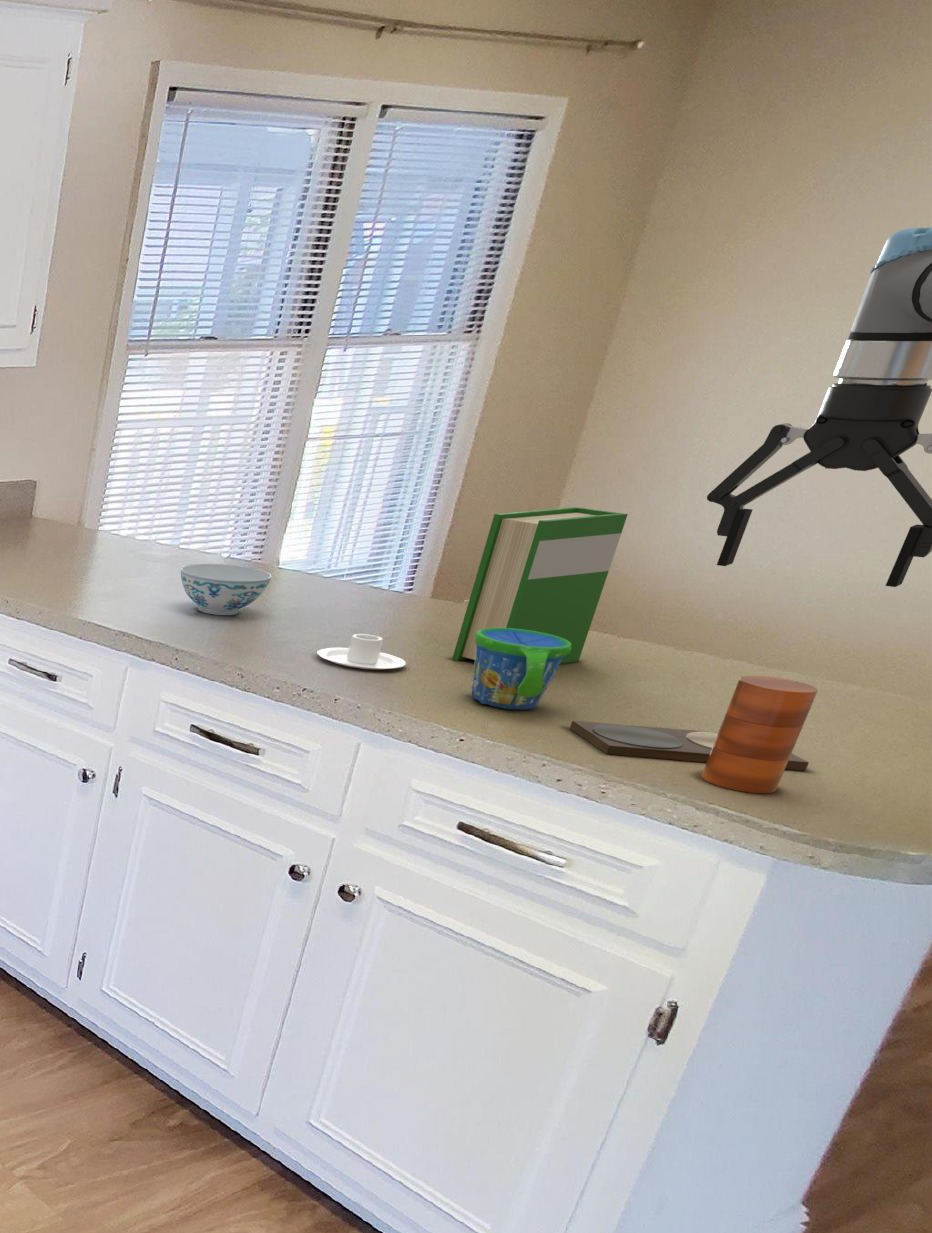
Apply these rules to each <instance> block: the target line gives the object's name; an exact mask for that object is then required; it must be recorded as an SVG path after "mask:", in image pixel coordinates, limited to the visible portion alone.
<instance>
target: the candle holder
mask: <svg viewBox="0 0 932 1233" xmlns="http://www.w3.org/2000/svg"><path fill="white" fill-rule="evenodd" d="M383 643H384V638H383V637H381V636H378V635H374V634H368V633H356V634H353V635H351V638H350V642H349V647H326V648H321V649H319V650H317V652H316V654H317V655H318V656H319V657H320V658H322V659H324V660H326V661H329V662H331V663H333V664H337V665H340V666H344V667H349V668H355V669H362V670H391V669H393V670H394V669H400V668H403V667H405V666H406V665H407V662H406V660H404V659H403V658H400V657H398V656H395V655H393V654H389V653H387V652H386V653H385V652H381V650H382V647H383Z"/></svg>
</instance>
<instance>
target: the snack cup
mask: <svg viewBox="0 0 932 1233" xmlns="http://www.w3.org/2000/svg"><path fill="white" fill-rule="evenodd" d="M475 642H476V645H477V647H476V655H475V660H474V664H473V672H472V677H473V678H472V683H471V697H472V698H473V699H474V700H477V701H478V702H479V703H480V704H482V705H489V706H491V707H494V708H497V709H503V710H517V711H519V710H520V711H523V710H530V709H535V708H536V707H537V706H538V704H539V703H540V701H541V699H542V697H543V695H544V694H545V691H546V690H547V688H548V686H549V684H550V683H551V682H552V680H553V678H554V676H555V674H556V672H557V671H558V668H559V666H560V664H561V663H560V662H561V661H562V659H563V658H564V657H565V656H566V655H568V654H569V653H570V652H571V643H570V642H569V641H568V640H566V639H564V638H561V637H558V636H555V635H551V634H547V633H542V632H537V631H531V630H523V629H514V628H486V629H481V630H479V631H478V632H476V634H475Z"/></svg>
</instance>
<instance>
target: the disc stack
mask: <svg viewBox="0 0 932 1233" xmlns="http://www.w3.org/2000/svg"><path fill="white" fill-rule="evenodd" d="M818 692H819V689H818V688H817V687H815V686H814V685H811V684H808V683H806V682H802V681H798V680H793V679H788V678H781V677H775V676H764V675H745V676H740V677H739V678H738V682H737V684H736V686H735V689H734V692H733V694H732V696H731V699H730V702H729V704H728V707H727V709H726V712H725V715H724V717H723V720H722V723H721V725H720V726H719V729H718V731H717V732H718V735H717V737H716V740H715V742H714V745H713V747H712V750H711V753H710V755H709V758H708V760H707V763H706V762H705V766H704V768H703V771H702V773H701V778H702V779H703V780H704V781H706V782H707V783H709V784H713V785H715V786H718V787H720V788H721V787H722V788H724V789H728V790H734V791H737V792H743V793H751V794H772V793H775V792H776V791H777V789H778V786H779V784H780V783H781V779H782V777H783V774H784V773H785V770H786V769H785V768H786V765H787V763H788V760H789V758H790V756H791V753H792V754H793V751H794V748H795V746H796V744H797V741H798V740H799V737H800V734H801V732H802V729H803V727H804V724H805V723H806V720H807V718H808V716H809V713H810V710H811V708H812V705H813V703H814V701H815V698H816V696H817V694H818Z"/></svg>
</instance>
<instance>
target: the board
mask: <svg viewBox="0 0 932 1233" xmlns="http://www.w3.org/2000/svg"><path fill="white" fill-rule="evenodd" d="M569 730H571V731H573V732H574V733H575V734H576V735H578V736H580V737H581V738H583V739H584V740H585V741H587V742H588V743H590V744H591V745H593V746H594V747H596V748H597V749H599V750H600V751H601V752H603V753H604V754H606V755H613V756H625V757H637V758H649V759H650V758H651V759H661V760H672V761H673V760H674V761H683V762H695V763H705V764H706V763H707V760H708V758H709V755H710V753H711V750H712V747H713V745H714V742H715V740H716V737H717V735H718V732H719V731H708V730H707V731H706V730H695V729H684V728H683V729H682V728H672V727H671V728H669V727H657V726H655V727H654V726H646V725H645V726H643V725H642V726H641V725H633V724H632V725H630V724H620V723H619V724H617V723H606V722H593V721H583V720H582V721H581V720H571V723H570V726H569ZM808 765H809V761H807V760H805V759H804V758H802V757H801V756H798V755H796V754H794V753H793V752H792V753H791V756H790V758H789V760H788V763H787V765H786V768H785V770H788V771H789V770H790V771H801V772H806V770H807V768H808Z"/></svg>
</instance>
